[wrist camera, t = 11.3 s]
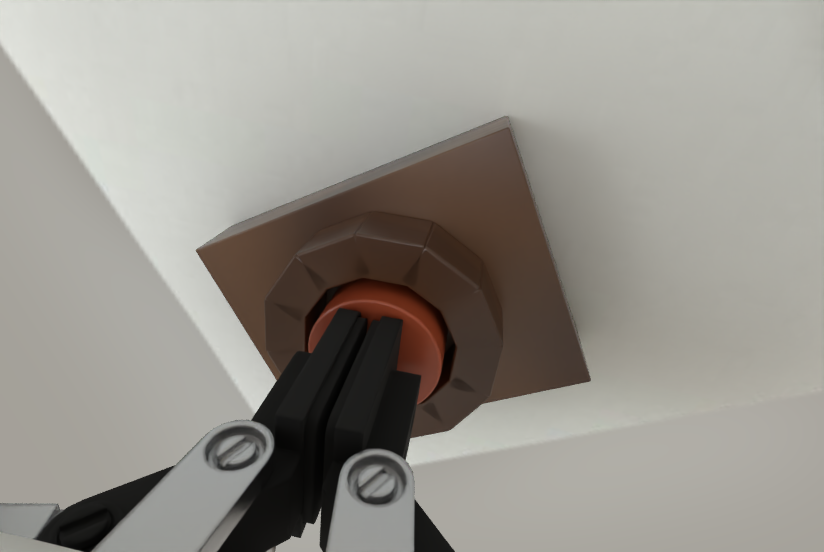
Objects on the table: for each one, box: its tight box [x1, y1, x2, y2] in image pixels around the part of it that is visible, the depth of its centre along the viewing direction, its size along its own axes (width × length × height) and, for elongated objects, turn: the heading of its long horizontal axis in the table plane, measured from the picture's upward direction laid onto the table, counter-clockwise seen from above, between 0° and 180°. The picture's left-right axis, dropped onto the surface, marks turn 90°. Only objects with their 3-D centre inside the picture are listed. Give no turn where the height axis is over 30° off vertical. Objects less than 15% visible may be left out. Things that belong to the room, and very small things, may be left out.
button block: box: [196, 116, 591, 438], centre depth 14 cm, size 10×8×4 cm
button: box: [308, 278, 448, 404], centre depth 13 cm, size 4×4×2 cm
